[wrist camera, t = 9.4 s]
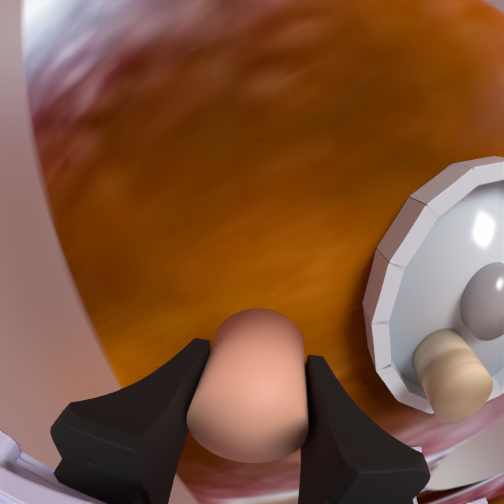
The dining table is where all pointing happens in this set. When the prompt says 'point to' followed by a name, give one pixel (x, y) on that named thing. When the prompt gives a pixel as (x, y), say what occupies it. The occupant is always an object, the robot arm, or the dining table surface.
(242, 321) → the ball
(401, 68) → the dining table surface
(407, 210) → the groove tray
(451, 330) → the maple bead
